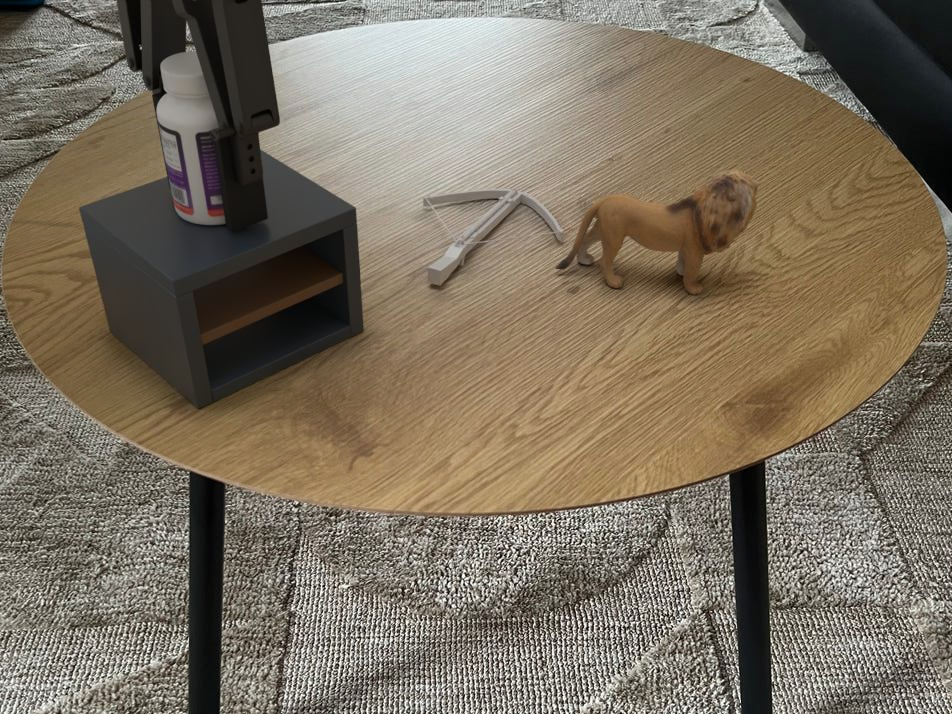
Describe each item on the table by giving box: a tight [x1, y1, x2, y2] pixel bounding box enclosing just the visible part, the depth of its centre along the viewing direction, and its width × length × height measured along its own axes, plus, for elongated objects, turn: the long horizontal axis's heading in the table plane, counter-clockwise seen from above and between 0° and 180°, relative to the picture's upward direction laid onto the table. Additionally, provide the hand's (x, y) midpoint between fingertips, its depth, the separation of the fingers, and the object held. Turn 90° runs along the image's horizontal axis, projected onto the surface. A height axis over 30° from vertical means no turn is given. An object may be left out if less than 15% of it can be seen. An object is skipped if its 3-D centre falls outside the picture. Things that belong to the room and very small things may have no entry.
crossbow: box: [422, 188, 565, 286], centre depth 89 cm, size 16×13×2 cm
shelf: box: [78, 148, 365, 410], centre depth 77 cm, size 12×14×10 cm
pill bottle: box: [156, 50, 226, 225], centre depth 70 cm, size 5×5×10 cm
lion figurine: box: [555, 169, 759, 296], centre depth 83 cm, size 15×5×9 cm, turn 90°
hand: (217, 202), depth 73 cm, fingers open, 6 cm apart
